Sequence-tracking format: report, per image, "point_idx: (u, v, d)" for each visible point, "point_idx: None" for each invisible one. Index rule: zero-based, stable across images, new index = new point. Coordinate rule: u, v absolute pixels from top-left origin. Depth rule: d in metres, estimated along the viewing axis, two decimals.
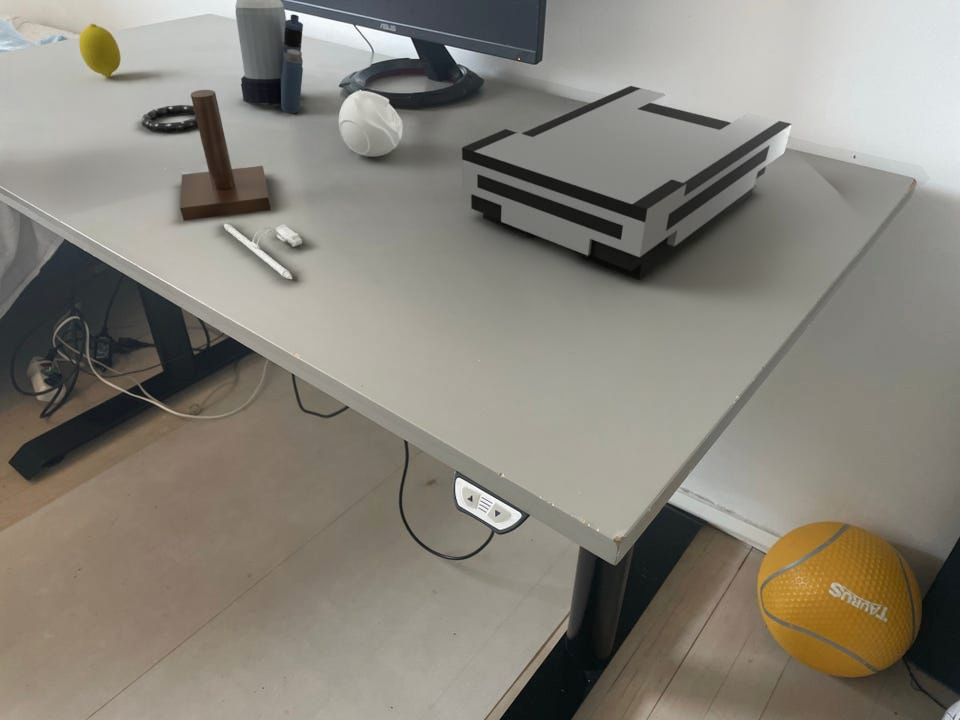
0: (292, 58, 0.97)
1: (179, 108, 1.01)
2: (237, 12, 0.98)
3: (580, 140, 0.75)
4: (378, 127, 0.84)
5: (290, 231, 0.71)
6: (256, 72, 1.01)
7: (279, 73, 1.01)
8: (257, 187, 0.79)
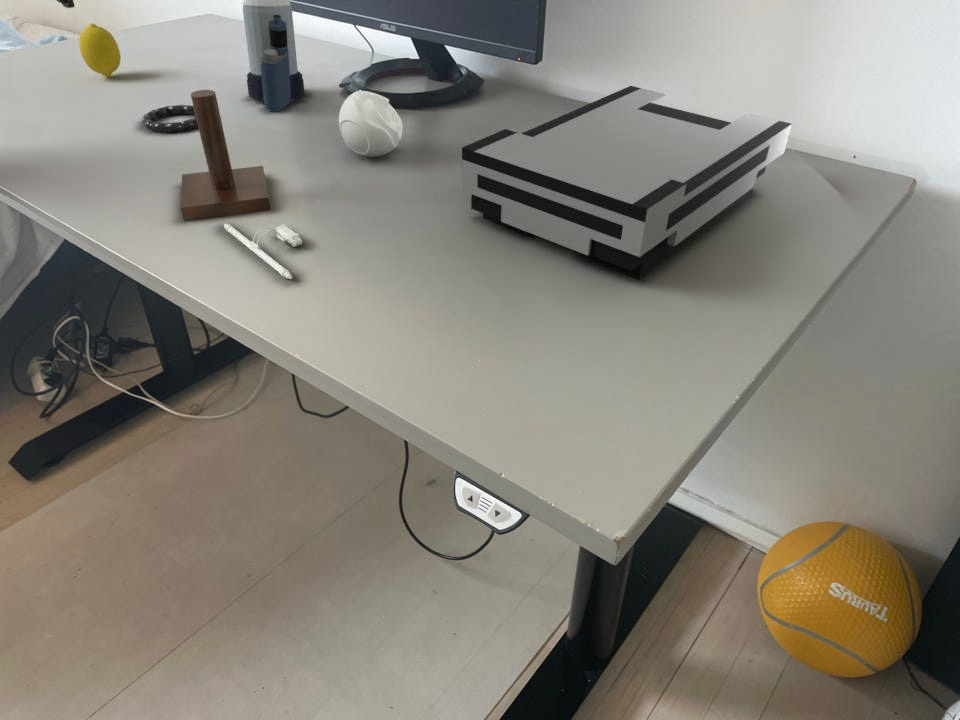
0: (265, 58, 0.97)
1: (179, 108, 1.01)
2: None
3: (580, 140, 0.75)
4: (378, 127, 0.84)
5: (290, 231, 0.71)
6: (252, 67, 1.03)
7: None
8: (257, 187, 0.79)
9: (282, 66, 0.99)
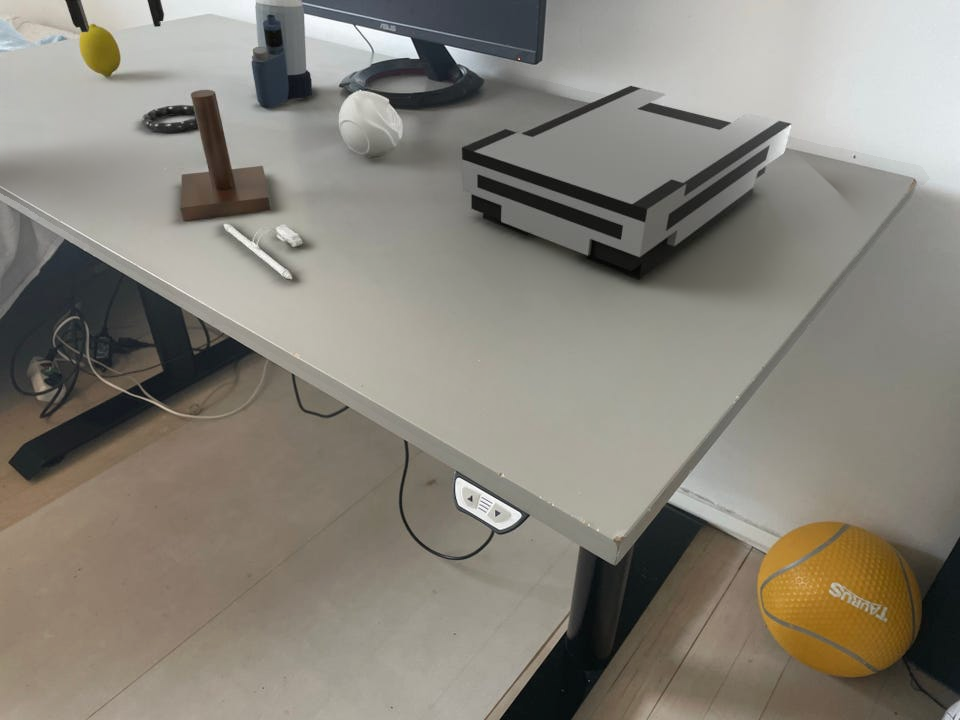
0: (254, 55, 0.98)
1: (179, 108, 1.01)
2: None
3: (580, 140, 0.75)
4: (378, 127, 0.84)
5: (290, 231, 0.71)
6: None
7: None
8: (257, 187, 0.79)
9: (273, 65, 1.00)
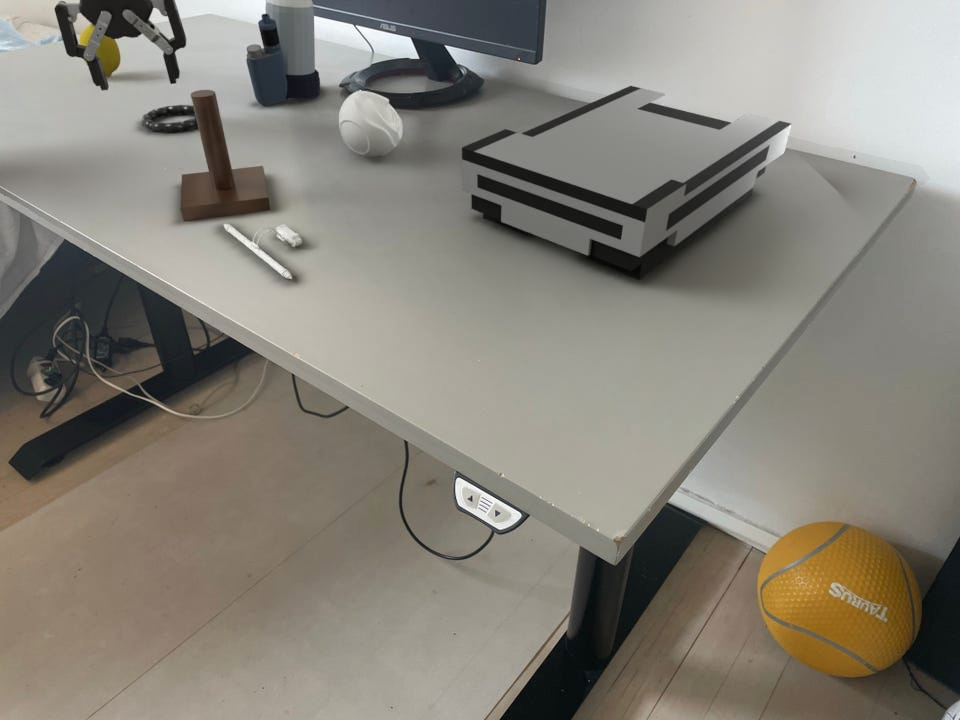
0: (247, 52, 0.99)
1: (179, 108, 1.01)
2: None
3: (580, 140, 0.75)
4: (378, 127, 0.84)
5: (290, 231, 0.71)
6: None
7: None
8: (257, 187, 0.79)
9: (267, 64, 1.00)
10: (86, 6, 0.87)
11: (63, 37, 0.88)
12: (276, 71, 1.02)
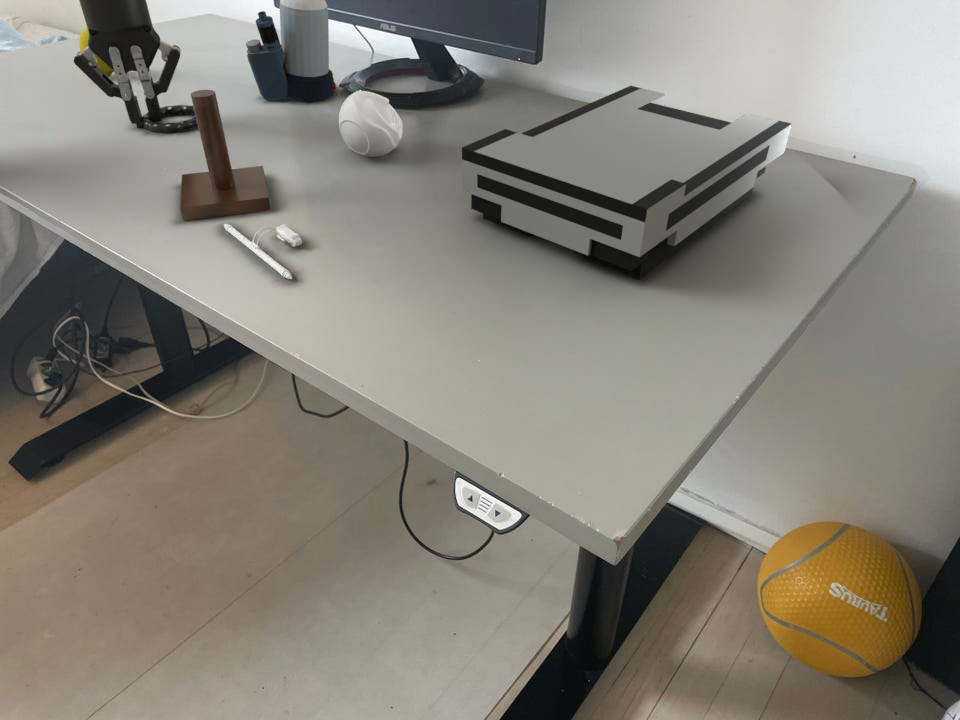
0: None
1: (179, 108, 1.01)
2: None
3: (580, 140, 0.75)
4: (378, 127, 0.84)
5: (290, 231, 0.71)
6: None
7: None
8: (257, 187, 0.79)
9: (263, 60, 1.02)
10: (95, 42, 0.90)
11: (96, 83, 0.92)
12: (273, 68, 1.03)
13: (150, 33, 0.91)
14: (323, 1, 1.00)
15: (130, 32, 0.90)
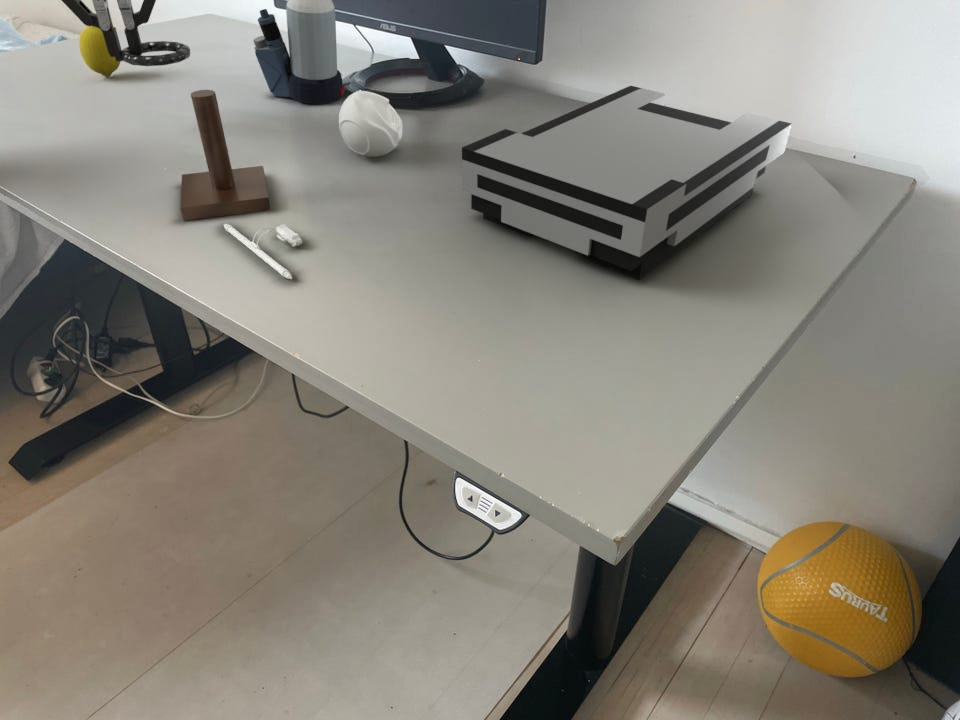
0: None
1: (161, 44, 0.95)
2: None
3: (580, 140, 0.75)
4: (378, 127, 0.84)
5: (290, 231, 0.71)
6: None
7: None
8: (257, 187, 0.79)
9: (266, 57, 1.03)
10: None
11: (72, 10, 0.87)
12: (275, 66, 1.03)
13: None
14: (324, 5, 0.98)
15: None
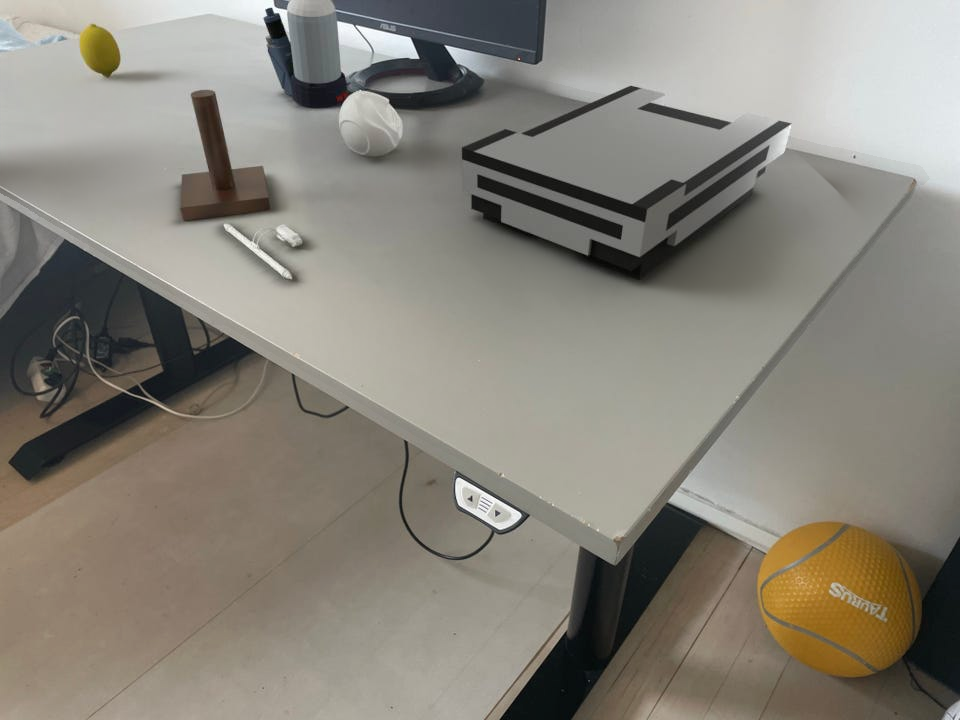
0: None
1: None
2: None
3: (580, 140, 0.75)
4: (378, 127, 0.84)
5: (290, 231, 0.71)
6: None
7: None
8: (257, 187, 0.79)
9: (273, 54, 1.04)
10: None
11: None
12: (280, 64, 1.04)
13: None
14: (317, 9, 0.96)
15: None
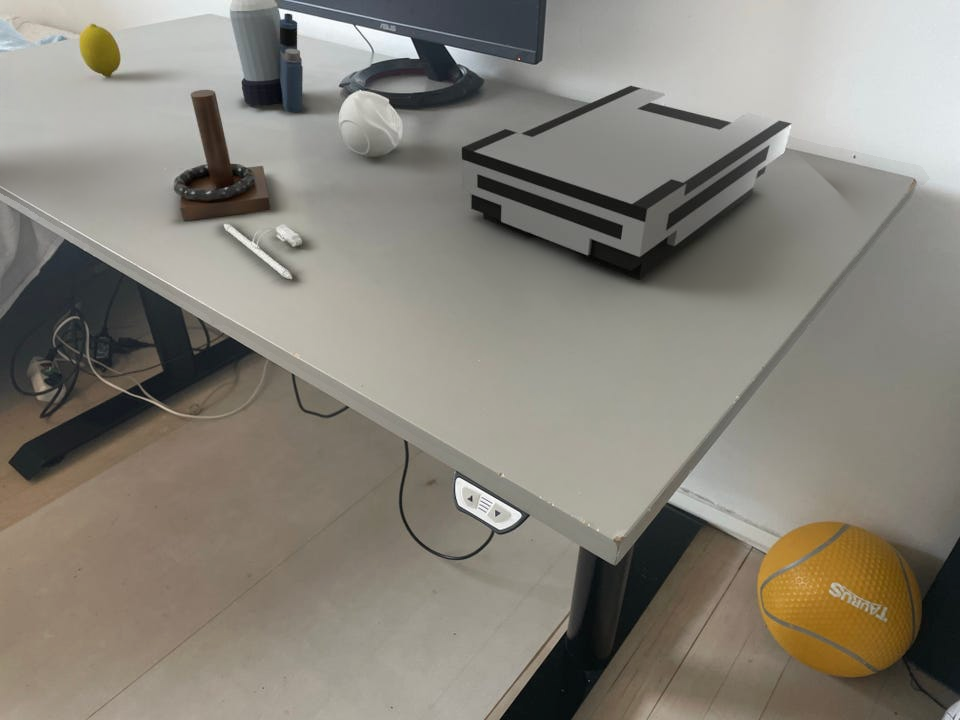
0: (292, 58, 0.97)
1: None
2: (231, 15, 0.98)
3: (580, 140, 0.75)
4: (378, 127, 0.84)
5: (290, 231, 0.71)
6: (254, 74, 1.01)
7: (277, 74, 1.02)
8: (257, 187, 0.79)
9: None
10: None
11: None
12: None
13: None
14: None
15: None
